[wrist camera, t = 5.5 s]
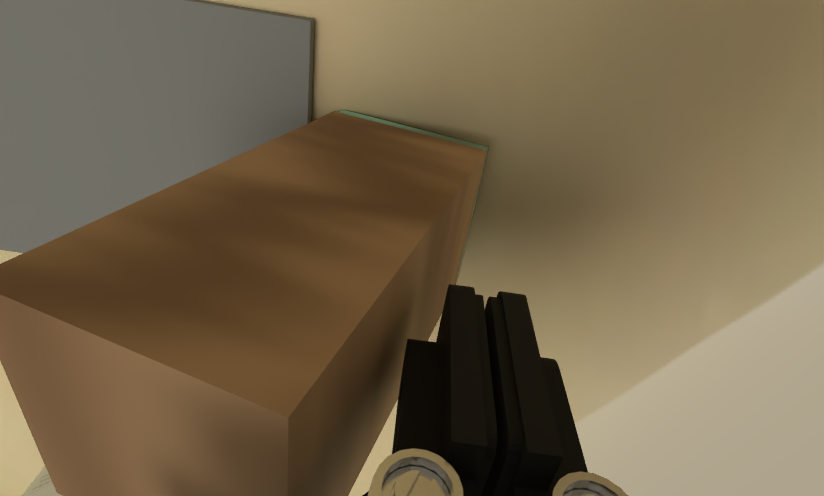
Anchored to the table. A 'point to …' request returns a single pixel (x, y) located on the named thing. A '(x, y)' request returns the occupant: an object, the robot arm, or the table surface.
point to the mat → (135, 101)
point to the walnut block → (241, 315)
